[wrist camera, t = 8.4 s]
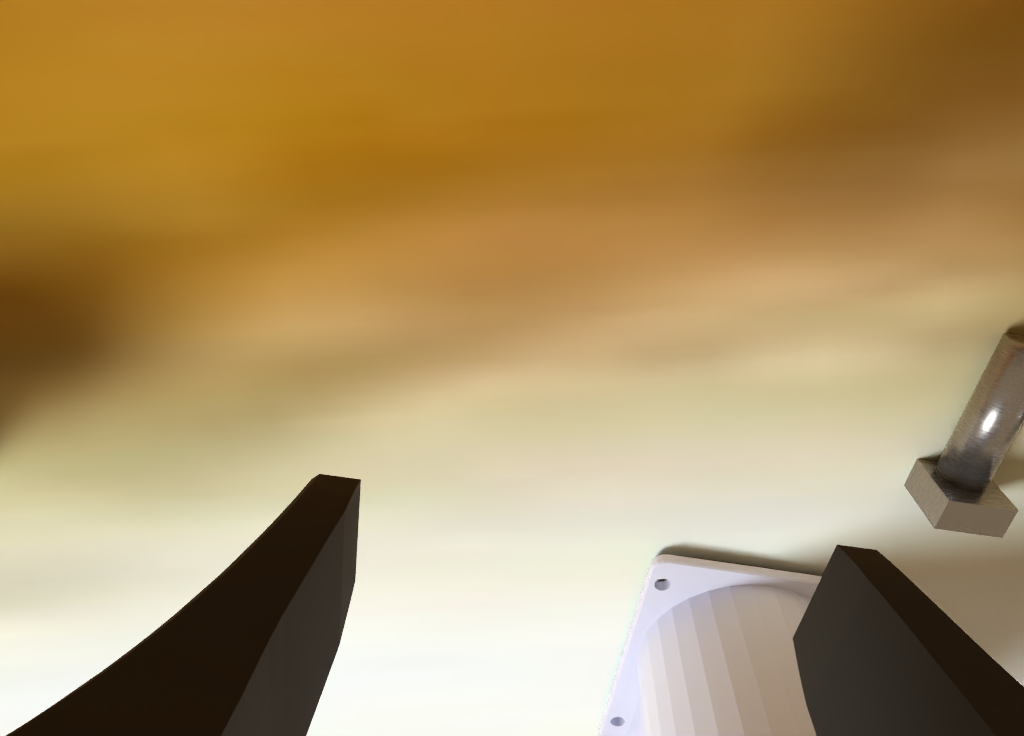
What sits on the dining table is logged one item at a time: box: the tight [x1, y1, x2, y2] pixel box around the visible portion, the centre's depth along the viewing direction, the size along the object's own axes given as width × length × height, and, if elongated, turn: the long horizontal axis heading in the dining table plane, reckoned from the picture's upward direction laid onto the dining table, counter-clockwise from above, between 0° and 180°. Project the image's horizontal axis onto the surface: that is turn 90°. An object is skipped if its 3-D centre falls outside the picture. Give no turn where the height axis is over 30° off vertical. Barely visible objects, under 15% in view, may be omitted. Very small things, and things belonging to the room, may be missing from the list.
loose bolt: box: [904, 333, 1024, 538], centre depth 21 cm, size 5×2×2 cm, turn 172°
